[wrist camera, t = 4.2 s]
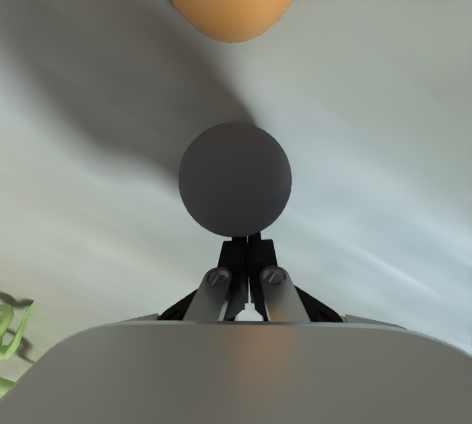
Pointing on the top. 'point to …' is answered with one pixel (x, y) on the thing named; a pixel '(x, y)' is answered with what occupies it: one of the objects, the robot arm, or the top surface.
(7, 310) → the figurine
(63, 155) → the top surface
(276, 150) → the dark gray ball
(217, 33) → the object ball
